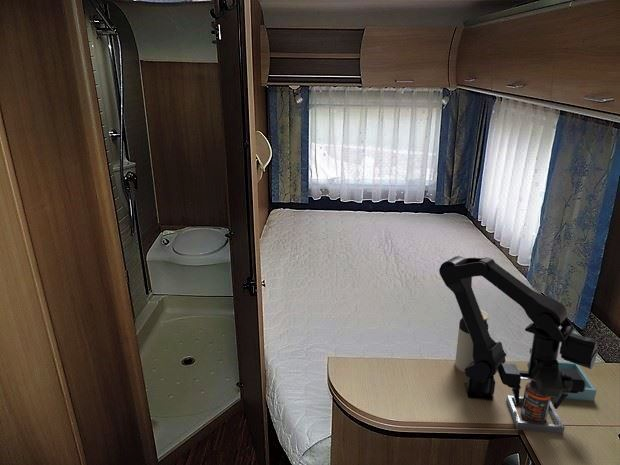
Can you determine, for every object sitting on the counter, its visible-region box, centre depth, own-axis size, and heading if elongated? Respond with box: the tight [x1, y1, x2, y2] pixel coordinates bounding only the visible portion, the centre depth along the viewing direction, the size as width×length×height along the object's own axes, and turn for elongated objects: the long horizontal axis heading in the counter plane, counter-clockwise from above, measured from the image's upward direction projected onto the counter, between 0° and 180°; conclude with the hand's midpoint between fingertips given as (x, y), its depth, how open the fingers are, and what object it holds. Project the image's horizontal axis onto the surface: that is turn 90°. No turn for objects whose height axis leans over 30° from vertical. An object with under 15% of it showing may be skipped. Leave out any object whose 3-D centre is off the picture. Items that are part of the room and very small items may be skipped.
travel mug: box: [454, 309, 490, 374], centre depth 132 cm, size 8×8×18 cm
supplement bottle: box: [520, 380, 552, 423], centre depth 112 cm, size 6×6×11 cm
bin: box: [527, 359, 597, 403], centre depth 126 cm, size 13×13×4 cm
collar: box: [505, 394, 565, 435], centre depth 114 cm, size 11×11×2 cm
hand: (535, 406), depth 113 cm, fingers open, 9 cm apart
